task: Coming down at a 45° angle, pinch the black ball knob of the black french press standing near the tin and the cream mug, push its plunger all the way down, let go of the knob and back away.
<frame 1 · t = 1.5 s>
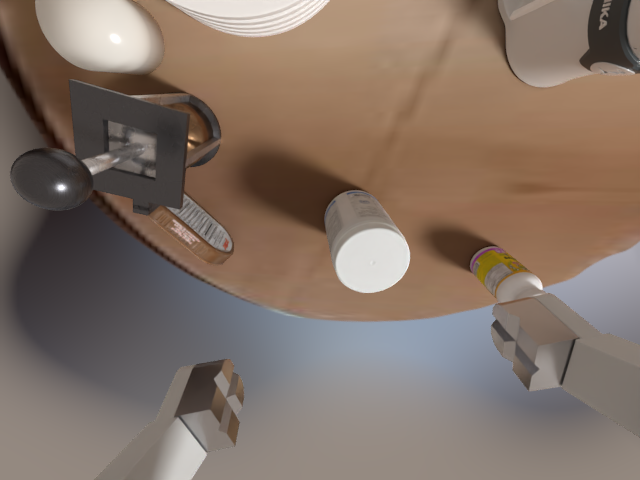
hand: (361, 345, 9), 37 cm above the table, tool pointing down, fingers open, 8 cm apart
supplement bottle: (485, 259, 53), on the table
black french press: (185, 131, 40), on the table
supplement tub: (352, 215, 48), on the table
cream mug: (131, 38, 35), on the table
plunger: (99, 162, 23), point 19 cm above the table, slide at 0.0 cm
tin: (200, 212, 46), on the table
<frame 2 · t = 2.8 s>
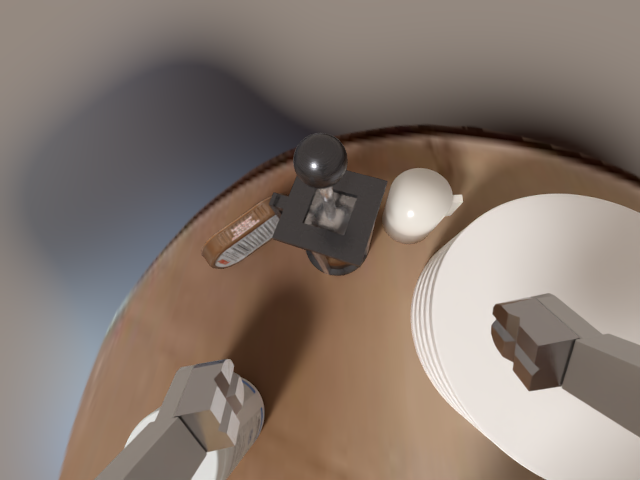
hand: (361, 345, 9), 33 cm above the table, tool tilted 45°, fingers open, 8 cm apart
black french press: (337, 244, 44), on the table
supplement tub: (233, 412, 40), on the table
cream mug: (407, 220, 44), on the table
plunger: (326, 189, 26), point 19 cm above the table, slide at 0.0 cm
tin: (260, 240, 46), on the table
plate stack: (516, 325, 39), on the table
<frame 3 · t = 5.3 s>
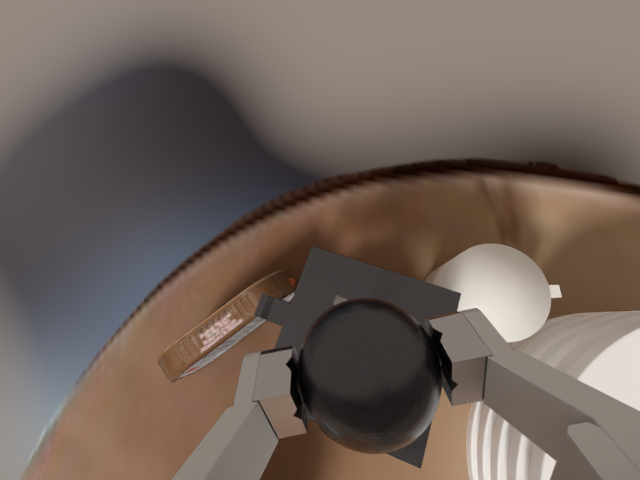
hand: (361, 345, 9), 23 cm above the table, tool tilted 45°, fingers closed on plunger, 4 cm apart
black french press: (357, 334, 31), on the table
cream mug: (457, 299, 31), on the table
plunger: (362, 351, 13), point 19 cm above the table, slide at 0.2 cm, touching gripper
tin: (249, 323, 33), on the table
plate stack: (630, 474, 26), on the table
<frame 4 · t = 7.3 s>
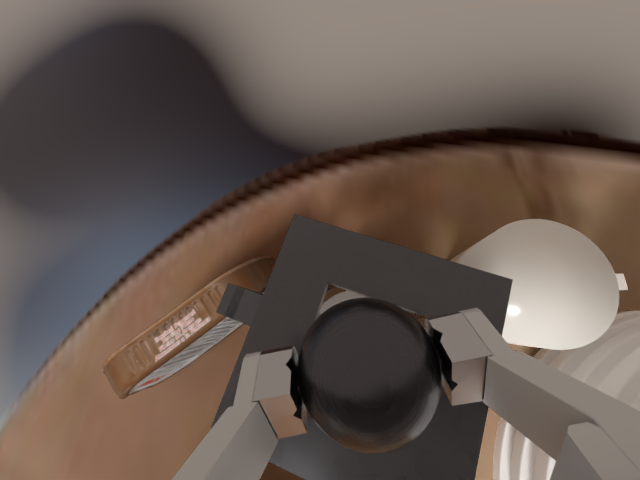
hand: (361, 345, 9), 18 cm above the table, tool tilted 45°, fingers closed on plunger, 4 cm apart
black french press: (357, 336, 25), on the table
cream mug: (479, 294, 25), on the table
plunger: (361, 351, 13), point 13 cm above the table, slide at 6.1 cm, touching gripper
tin: (227, 324, 27), on the table
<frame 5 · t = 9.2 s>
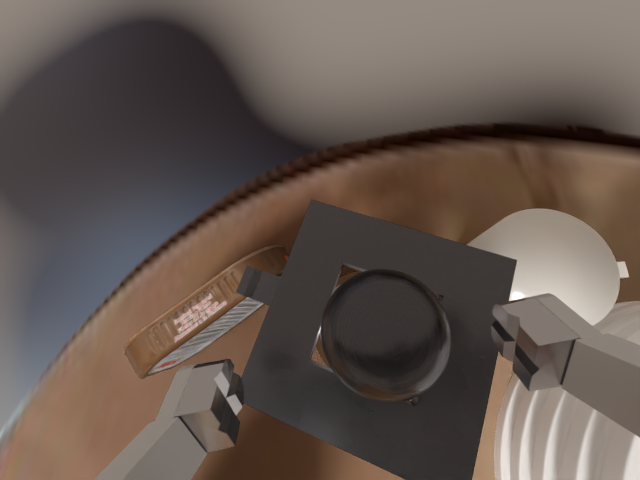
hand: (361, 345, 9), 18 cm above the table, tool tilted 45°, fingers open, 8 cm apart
black french press: (365, 324, 26), on the table
cream mug: (484, 284, 26), on the table
plunger: (374, 327, 14), point 13 cm above the table, slide at 6.1 cm
tin: (239, 311, 28), on the table
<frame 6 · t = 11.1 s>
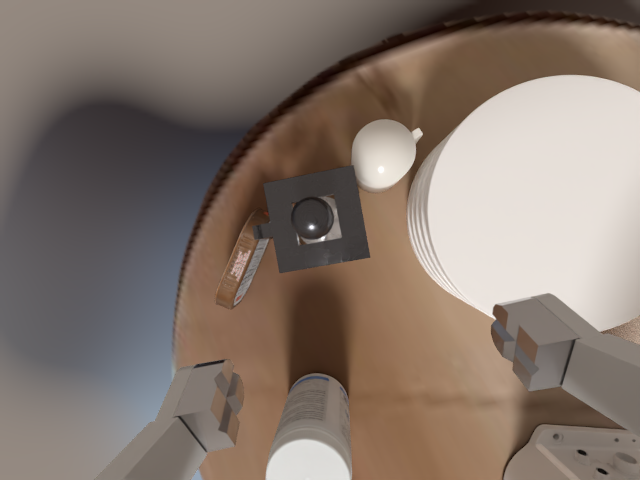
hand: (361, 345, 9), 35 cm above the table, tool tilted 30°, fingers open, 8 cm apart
black french press: (325, 224, 44), on the table
supplement tub: (319, 399, 45), on the table
cream mug: (375, 168, 44), on the table
plunger: (317, 220, 31), point 13 cm above the table, slide at 6.1 cm
tin: (256, 257, 46), on the table
plate stack: (502, 214, 42), on the table
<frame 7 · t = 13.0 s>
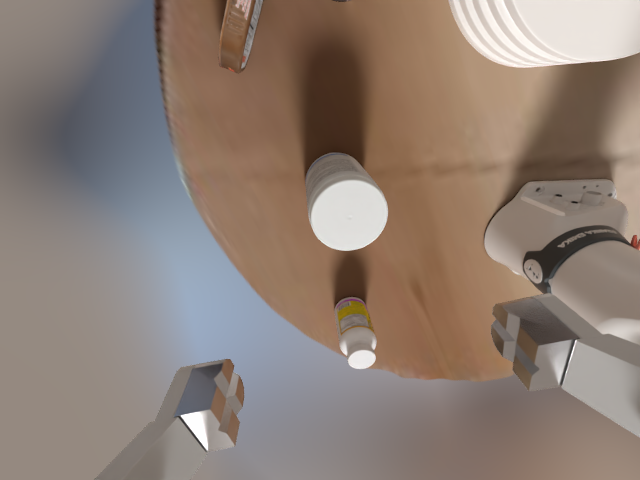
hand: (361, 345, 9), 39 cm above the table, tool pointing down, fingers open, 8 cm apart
supplement bottle: (350, 307, 60), on the table
supplement tub: (335, 180, 47), on the table
tin: (253, 8, 36), on the table
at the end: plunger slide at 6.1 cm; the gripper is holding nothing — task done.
